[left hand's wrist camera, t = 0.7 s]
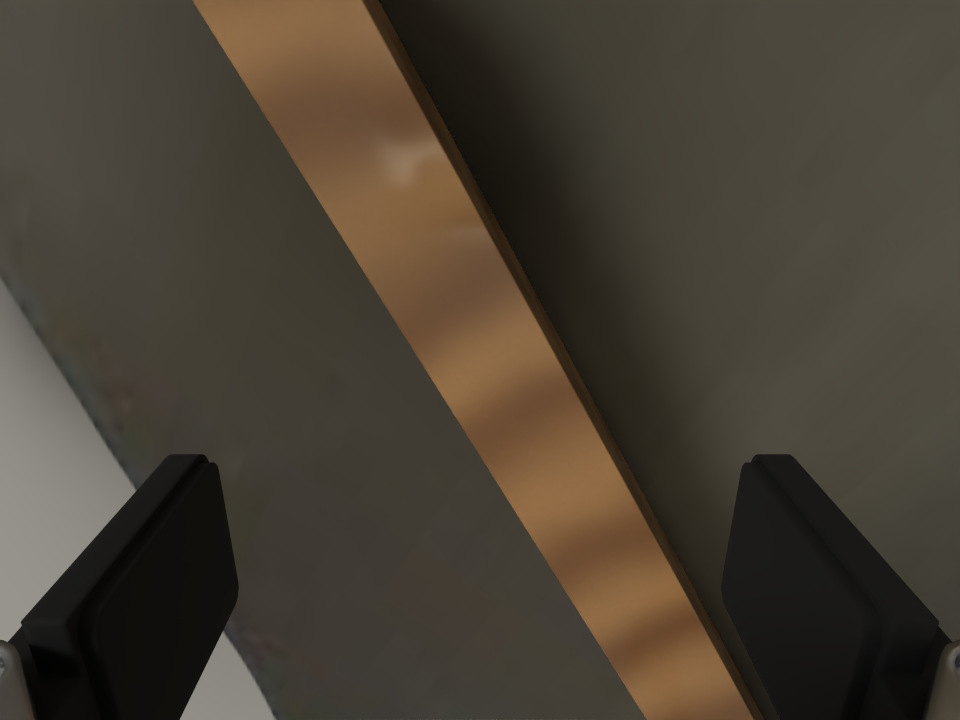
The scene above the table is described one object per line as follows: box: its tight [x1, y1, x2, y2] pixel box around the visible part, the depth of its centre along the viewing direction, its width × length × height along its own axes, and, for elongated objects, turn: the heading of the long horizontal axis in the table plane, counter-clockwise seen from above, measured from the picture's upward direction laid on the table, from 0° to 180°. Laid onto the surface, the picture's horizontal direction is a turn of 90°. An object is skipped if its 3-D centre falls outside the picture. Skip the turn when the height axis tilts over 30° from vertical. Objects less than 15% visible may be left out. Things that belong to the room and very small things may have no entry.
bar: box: [192, 0, 764, 720], centre depth 36 cm, size 63×5×8 cm, turn 29°
